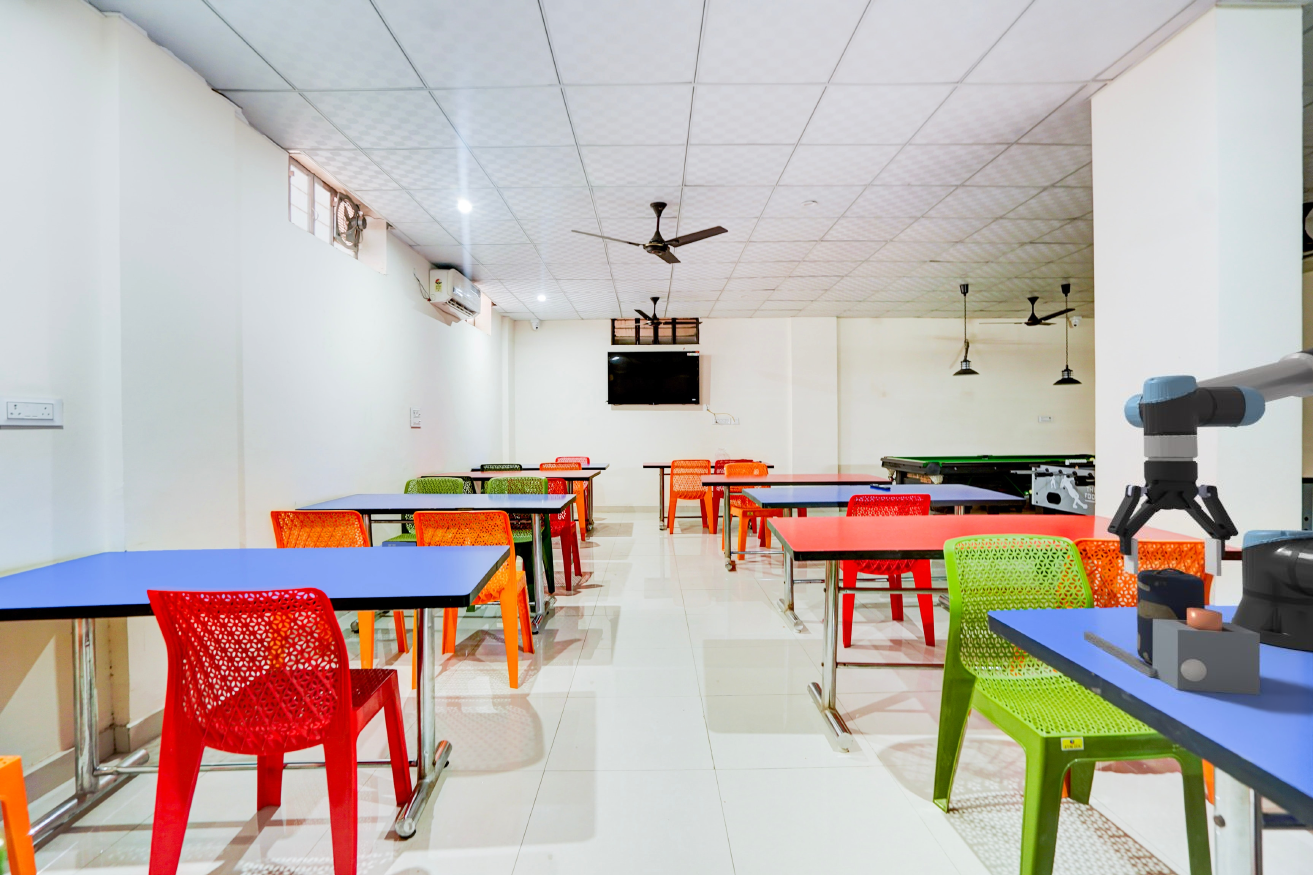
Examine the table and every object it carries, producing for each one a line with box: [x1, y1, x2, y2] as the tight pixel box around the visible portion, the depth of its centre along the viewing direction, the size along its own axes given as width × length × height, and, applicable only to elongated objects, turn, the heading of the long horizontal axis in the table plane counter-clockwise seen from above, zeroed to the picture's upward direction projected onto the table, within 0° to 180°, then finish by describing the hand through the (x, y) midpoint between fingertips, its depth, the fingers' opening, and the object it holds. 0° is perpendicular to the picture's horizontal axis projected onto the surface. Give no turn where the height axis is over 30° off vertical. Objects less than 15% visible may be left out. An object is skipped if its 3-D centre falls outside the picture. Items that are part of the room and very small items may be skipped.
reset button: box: [1187, 608, 1223, 631], centre depth 100 cm, size 4×4×4 cm
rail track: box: [1083, 631, 1158, 679], centre depth 111 cm, size 15×20×2 cm
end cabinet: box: [1152, 619, 1261, 696], centre depth 99 cm, size 12×6×10 cm, turn 81°
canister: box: [1136, 567, 1206, 665], centre depth 108 cm, size 10×10×18 cm
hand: (1171, 573), depth 108 cm, fingers open, 13 cm apart
